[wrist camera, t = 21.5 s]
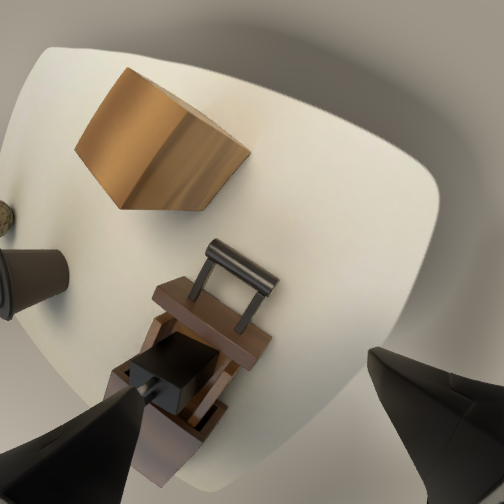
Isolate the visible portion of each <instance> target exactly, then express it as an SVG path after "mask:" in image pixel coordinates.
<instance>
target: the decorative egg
mask: <svg viewBox="0 0 504 504" xmlns="http://www.w3.org/2000/svg"><path fill="white" fill-rule="evenodd" d="M12 222H13V214H12V211H11V209H10V207H9V206H8V205H7V204H6V203H5V202H3V201H0V237H2V236H4V235H5V234H6V233H7V232H8V231H9V230H10V228H11V226H12Z"/></svg>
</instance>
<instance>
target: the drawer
mask: <svg viewBox="0 0 504 504" xmlns="http://www.w3.org/2000/svg"><path fill="white" fill-rule="evenodd" d="M205 255H206V256H207V257H208V258H207V260H206V262H205V264H204V265H203V267H202V269H201V271H200V273H199V275H198V277H197V279H196V281H195V283H193V282H192V281H190V280H189V279H188V278H186V277H185V276H183V277H180V278H178V279H175V280H172V281H169V282H167V283H164V284H161V285H158V286H157V287H156V290H155V292H154V294H153V297H152V300H153V301H154V302H156V303H157V304H158V305H159V306H161V307H162V308H163V309H164V310H166V311H167V312H165V313H163V314H161V315H159V316H157V317H155V318H154V320H153V322H152V324H151V327H150V329H149V331H148V334H147V336H146V339H145V341H144V343H143V346H142V348H141V351H140V353H139V355H140V354H141V353H143V352H144V351H146V350H148V349H149V348H151V347H152V346H154V345H155V344H157V343H159V342H160V341H162V340H163V339H165V338H166V337H168V336H169V335H171V334H172V333H174V332H176V331H178V332H180V333H182V334H184V335H186V336H188V337H190V338H192V339H195V340H197V341H199V342H201V343H203V344H205V345H208V346H210V347H212V348H214V349H216V350H219V351H220V353H219V356H218V360H217V364H216V367H215V371H214V375H213V377H212V378H211V379H210V380H209V381H208V382H207V383H206V384H205V385H204V386H203V388H202V389H201V390H200V391H199V392H198V393H197V394H196V395H195V396H194V397H193V398H192V400H191V401H190V402H189V403H188V404H187V405H186V406H185V407H184V408H183V409H182V410H181V411H180V412H179V413H178V415H176V416H177V417H179V418H180V419H181V420H183V421H184V422H186V423H187V424H188V425H190V426H191V427H193V428H194V429H195V427H196V426H197V425H198V424H199V422H200V421H201V420H202V419H203V417H204V416H205V415H206V413H207V412H208V411H209V409H210V408H211V407H212V405H213V404H214V403H215V401H216V400H217V399H218V397H219V396H220V395H221V393H222V392H223V391H224V389H225V388H226V386H227V385H228V384H229V382H230V381H231V380H232V378H233V377H234V375H235V374H236V373H237V371H238V370H239V368H240V367H241V366H242V367H244V368H245V369H247V370H248V371H250V370H251V369H252V367H253V366H254V365H255V363H256V362H257V361H258V359H259V358H260V356H261V355H262V353H263V351H264V350H265V348H266V347H267V345H268V344H269V342H270V341H271V339H272V337H271V336H270V335H268V334H267V333H265V332H264V331H262V330H261V329H259V328H258V327H256V326H255V325H253V324H252V323H250V321H251V319H252V318H253V316H254V315H255V313H256V312H257V310H258V308H259V307H260V305H261V304H262V302H263V301H264V299H265V297H269V296H270V295H271V294H272V292H273V291H274V289H275V288H276V286H277V285H278V283H279V281H280V279H279V278H277V277H276V276H274V275H273V274H271V273H270V272H268V271H267V270H265V269H264V268H262V267H260V266H259V265H257V264H256V263H254V262H253V261H251V260H250V259H248V258H247V257H245V256H244V255H242V254H240V253H239V252H237V251H236V250H234V249H233V248H231V247H230V246H228V245H227V244H225V243H224V242H222V241H220V240H219V239H217V238H216V239H214V240H213V241H212V242H211V243H210V244H209V245H208V247H207V249H206V252H205ZM216 264H218V265H220V266H221V267H223V268H224V269H226V270H227V271H229V272H230V273H232V274H233V275H235V276H236V277H237V278H239V279H240V280H242V281H243V282H245V283H246V284H248V285H249V286H251V287H252V288H254V289H255V290H257V291H258V292H257V293H256V294H255V296H254V298H253V299H252V301H251V303H250V304H249V306H248V308H247V309H246V311H245V312H244V314H243V316H242V317H241V316H240V315H238V314H237V313H236V312H234V311H233V310H231V309H230V308H228V307H227V306H225V305H224V304H223V303H221V302H220V301H218V300H217V299H215V298H214V297H213V296H211V295H210V294H208V293H207V292H206V291H204V290H203V288H204V286H205V284H206V282H207V281H208V279H209V277H210V275H211V273H212V271H213V269H214V267H215V265H216Z"/></svg>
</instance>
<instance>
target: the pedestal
mask: <svg viewBox="0 0 504 504" xmlns="http://www.w3.org/2000/svg"><path fill="white" fill-rule="evenodd" d="M74 150H75V152H76V153H77V154H78V156H79V157H80V158H81V160H82V161H83V163H84V164H85V165H86V167H87V168H88V169H89V171H90V172H91V173H92V175H93V176H94V177H95V178H96V180H97V181H98V182H99V184H100V185H101V186H102V188H103V189H104V190H105V191H106V193H107V194H108V195H109V196H110V198H111V199H112V200H113V201H114V203H115V204H116V205H117V206H118V208H119V209H121V210H180V211H203V210H204V209H205V207H206V206H207V205H208V204H209V202H210V201H211V200H212V199H213V197H214V196H215V195H216V194H217V192H218V191H219V190H220V189H221V187H222V186H223V185H224V184H225V183H226V181H227V180H228V179H229V178H230V177H231V175H232V174H233V173H234V172H235V171H236V169H237V168H238V167H239V166H240V165H241V163H242V162H243V161H244V160H245V159H246V157H247V156H248V155H249V154H250V153H251V152H250V151H249V150H248V149H247V148H246V147H245V146H243V145H242V144H241V143H240V142H238V141H237V140H236V139H235V138H233V137H232V136H231V135H230V134H228V133H227V132H226V131H225V130H223V129H222V128H221V127H220V126H218V125H217V124H216V123H214V122H213V121H212V120H211V119H209V118H208V117H207V116H205V115H204V114H203V113H201V112H200V111H199V110H197V109H196V108H194V107H192V106H191V105H189V104H188V103H186V102H185V101H183V100H182V99H180V98H178V97H177V96H175V95H174V94H172V93H171V92H169V91H167V90H166V89H164V88H162V87H161V86H159V85H157V84H156V83H154V82H152V81H151V80H149V79H147V78H146V77H144V76H142V75H141V74H139V73H137V72H135V71H134V70H132V69H130V68H128V67H127V68H126V69H125V70H124V72H123V73H122V74H121V76H120V77H119V79H118V80H117V81H116V83H115V84H114V86H113V87H112V88H111V90H110V91H109V93H108V94H107V96H106V97H105V99H104V100H103V102H102V103H101V105H100V106H99V108H98V110H97V111H96V113H95V114H94V116H93V118H92V119H91V121H90V123H89V124H88V126H87V128H86V129H85V131H84V133H83V135H82V136H81V138H80V140H79V142H78V144H77V145H76V147H75V149H74Z"/></svg>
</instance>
